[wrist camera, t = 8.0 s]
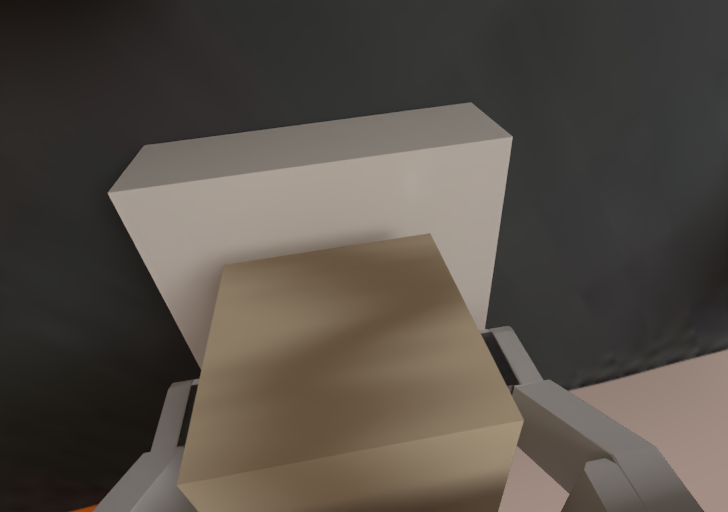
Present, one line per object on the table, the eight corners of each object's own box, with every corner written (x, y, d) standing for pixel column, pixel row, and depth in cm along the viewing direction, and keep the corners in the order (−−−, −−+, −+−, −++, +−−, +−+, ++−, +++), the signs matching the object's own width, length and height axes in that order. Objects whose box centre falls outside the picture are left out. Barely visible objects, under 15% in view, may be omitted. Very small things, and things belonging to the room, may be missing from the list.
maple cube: (429, 233, 10) (523, 420, 6) (427, 362, 13) (488, 543, 9) (224, 264, 10) (176, 484, 6) (271, 389, 13) (262, 590, 9)
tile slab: (470, 102, 13) (512, 136, 10) (456, 291, 17) (482, 344, 15) (144, 145, 12) (107, 192, 10) (223, 329, 17) (212, 390, 14)
